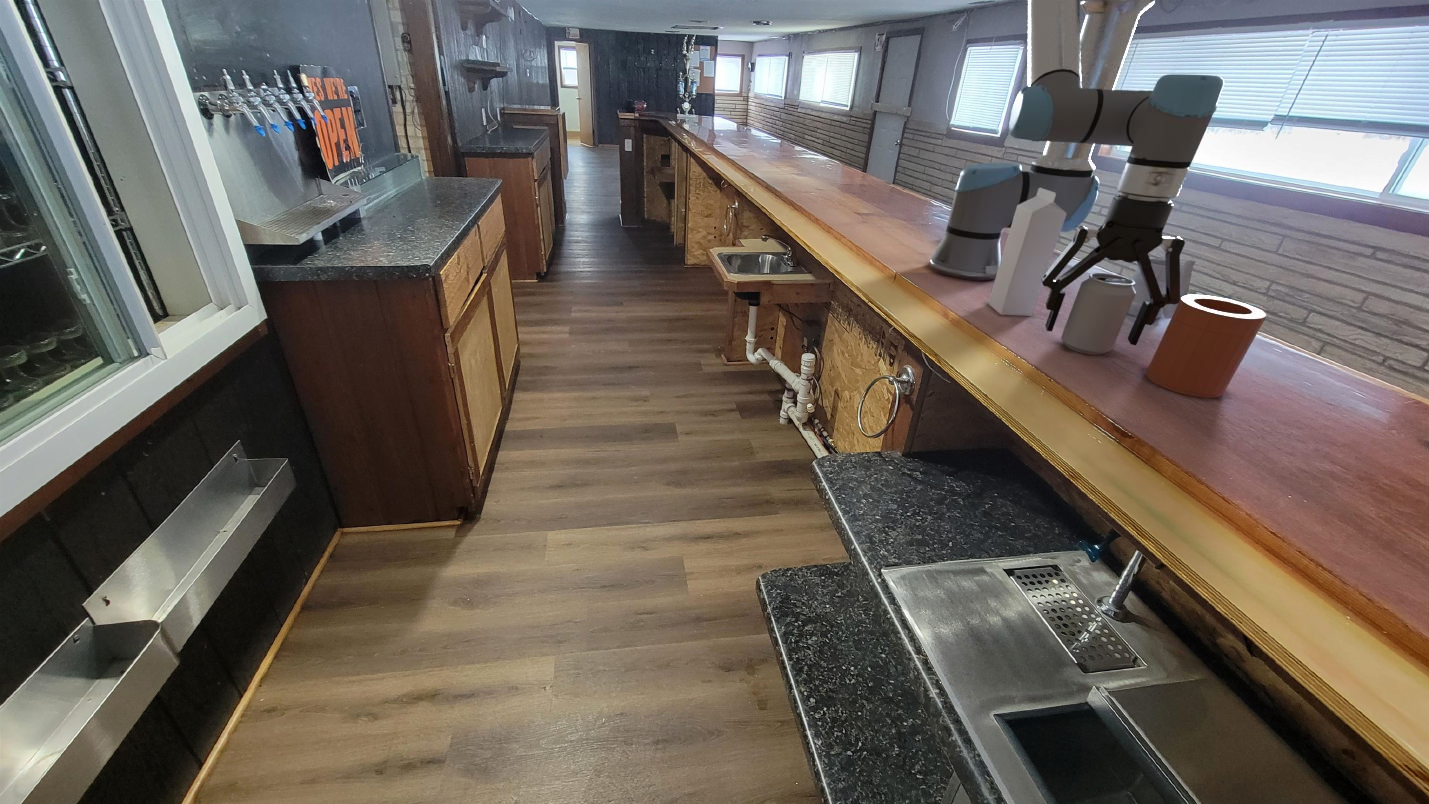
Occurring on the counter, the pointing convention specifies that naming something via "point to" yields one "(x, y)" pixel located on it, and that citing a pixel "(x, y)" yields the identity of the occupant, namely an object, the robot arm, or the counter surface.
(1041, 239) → the milk
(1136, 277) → the mug
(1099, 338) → the can
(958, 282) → the counter surface
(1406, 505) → the counter surface
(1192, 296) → the jar
